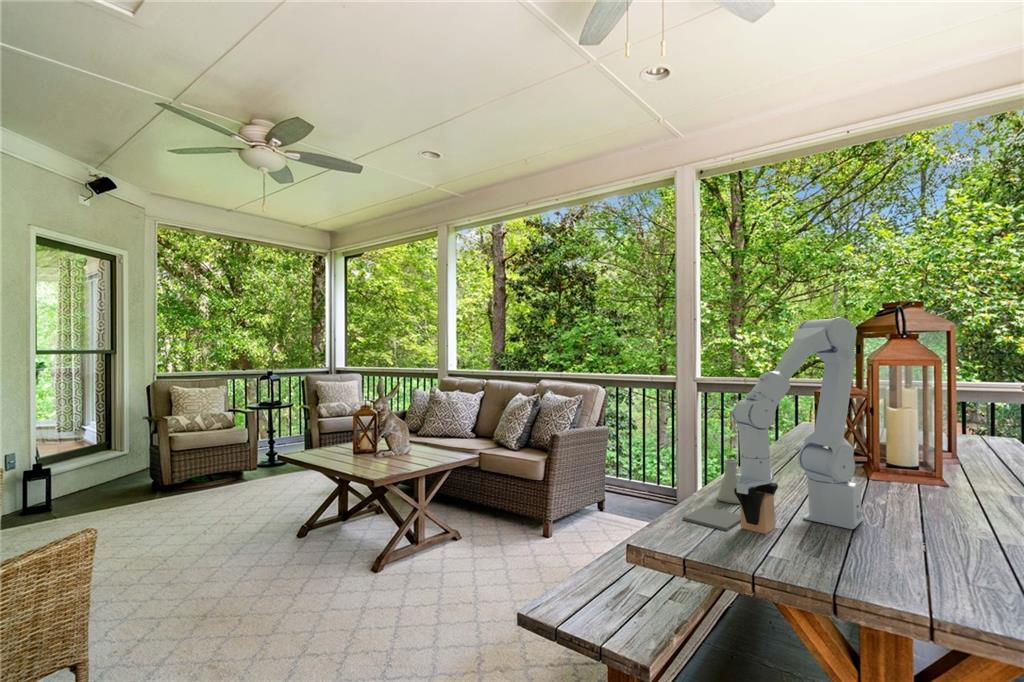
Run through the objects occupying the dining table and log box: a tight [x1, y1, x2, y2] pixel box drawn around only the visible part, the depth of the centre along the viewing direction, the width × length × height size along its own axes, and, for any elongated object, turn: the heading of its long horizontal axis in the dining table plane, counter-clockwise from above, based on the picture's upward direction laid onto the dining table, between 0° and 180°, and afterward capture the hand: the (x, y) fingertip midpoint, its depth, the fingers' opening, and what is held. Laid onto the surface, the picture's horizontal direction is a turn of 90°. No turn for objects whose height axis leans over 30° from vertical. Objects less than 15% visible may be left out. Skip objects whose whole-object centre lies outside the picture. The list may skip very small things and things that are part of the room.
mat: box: [682, 506, 741, 532], centre depth 109 cm, size 10×10×1 cm
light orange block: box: [739, 491, 776, 535], centre depth 103 cm, size 5×5×7 cm
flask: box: [717, 458, 740, 505], centre depth 122 cm, size 7×7×10 cm
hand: (757, 520), depth 103 cm, fingers closed on light orange block, 5 cm apart
